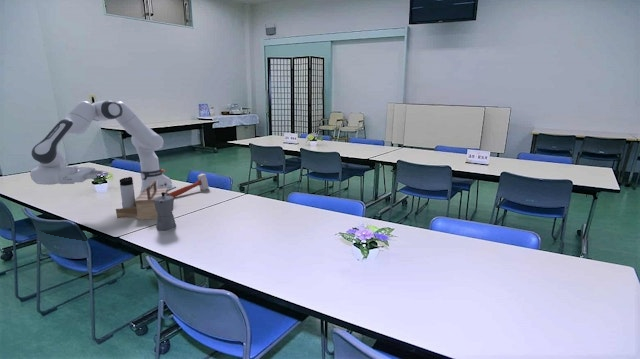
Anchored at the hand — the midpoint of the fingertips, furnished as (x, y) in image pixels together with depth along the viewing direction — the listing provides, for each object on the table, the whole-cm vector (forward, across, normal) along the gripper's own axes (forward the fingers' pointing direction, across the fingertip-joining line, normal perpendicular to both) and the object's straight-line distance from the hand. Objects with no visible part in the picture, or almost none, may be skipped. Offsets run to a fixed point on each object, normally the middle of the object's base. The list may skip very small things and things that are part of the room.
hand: (99, 174), depth 186 cm
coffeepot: (+34, -24, +23) cm, 48 cm away
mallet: (+40, +36, +22) cm, 58 cm away
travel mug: (+12, 0, +23) cm, 26 cm away
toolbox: (+19, 0, +23) cm, 30 cm away
